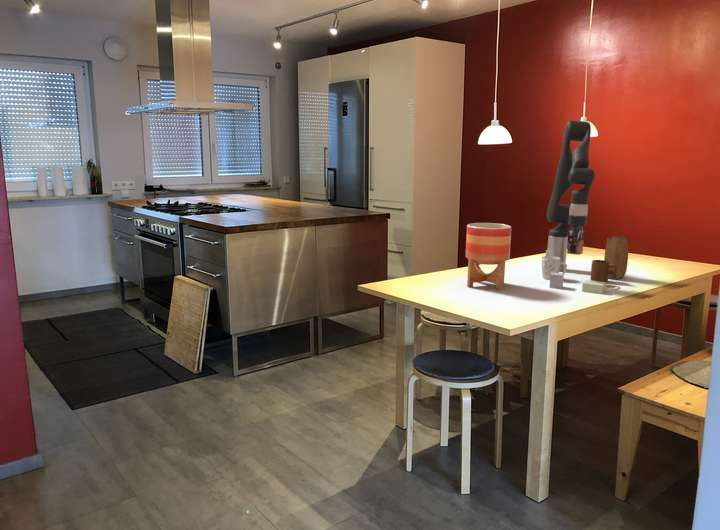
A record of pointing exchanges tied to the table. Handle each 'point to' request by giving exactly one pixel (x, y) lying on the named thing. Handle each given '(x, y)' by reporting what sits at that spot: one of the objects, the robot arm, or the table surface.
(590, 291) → the base block
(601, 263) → the mug
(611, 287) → the tile
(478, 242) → the planter
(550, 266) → the mug
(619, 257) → the brown tall piece
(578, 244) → the walnut block
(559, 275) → the grey block
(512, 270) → the table surface
